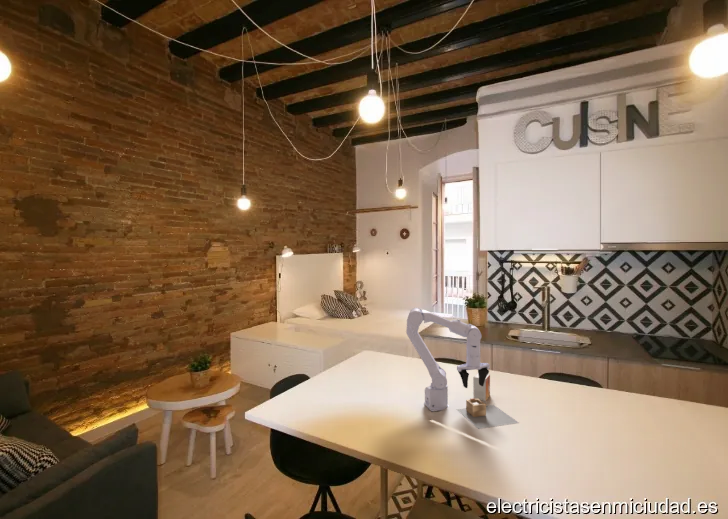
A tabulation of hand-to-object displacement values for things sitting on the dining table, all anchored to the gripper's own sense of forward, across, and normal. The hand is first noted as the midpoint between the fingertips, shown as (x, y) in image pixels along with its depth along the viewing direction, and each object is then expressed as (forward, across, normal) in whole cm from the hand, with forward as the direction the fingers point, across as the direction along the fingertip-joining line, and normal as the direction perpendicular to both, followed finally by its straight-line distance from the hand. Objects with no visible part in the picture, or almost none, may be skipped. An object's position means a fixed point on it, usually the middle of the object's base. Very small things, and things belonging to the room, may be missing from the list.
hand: (473, 386), depth 141 cm
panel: (+10, +1, -8) cm, 13 cm away
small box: (+10, +10, +9) cm, 17 cm away
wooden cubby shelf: (+9, -2, -5) cm, 10 cm away
